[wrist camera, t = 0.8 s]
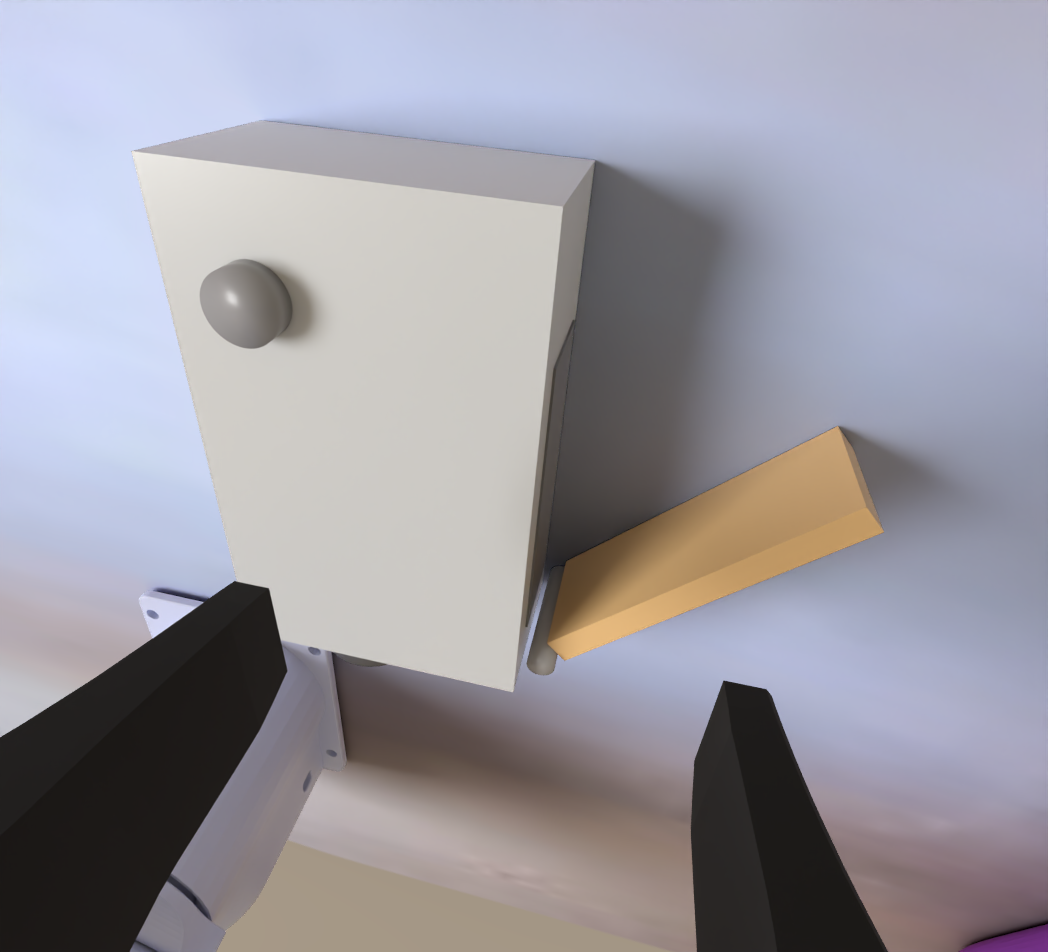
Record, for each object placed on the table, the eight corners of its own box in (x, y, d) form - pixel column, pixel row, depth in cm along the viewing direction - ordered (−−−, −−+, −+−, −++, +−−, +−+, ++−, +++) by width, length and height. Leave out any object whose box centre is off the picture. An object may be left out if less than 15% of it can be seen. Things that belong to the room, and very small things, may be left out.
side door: (560, 587, 22) (538, 678, 19) (545, 571, 22) (521, 661, 19) (852, 448, 17) (887, 541, 14) (838, 426, 17) (869, 515, 14)
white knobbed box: (541, 607, 23) (508, 736, 19) (322, 562, 24) (245, 674, 20) (598, 160, 15) (560, 215, 11) (260, 120, 16) (107, 156, 12)
